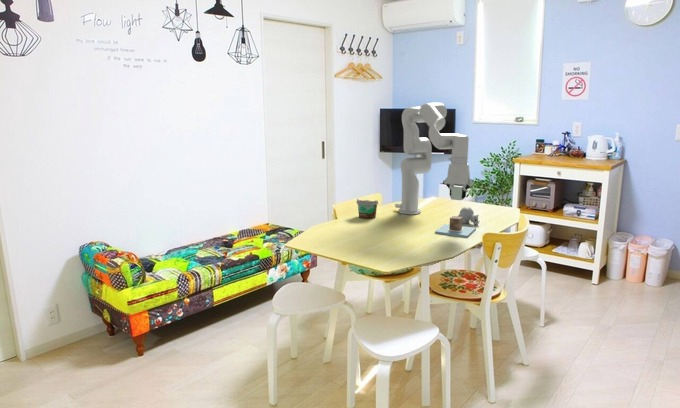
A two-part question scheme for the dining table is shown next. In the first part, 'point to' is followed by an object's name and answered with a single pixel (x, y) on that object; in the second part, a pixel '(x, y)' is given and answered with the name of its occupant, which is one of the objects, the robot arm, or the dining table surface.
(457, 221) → the walnut block
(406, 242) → the dining table surface
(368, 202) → the food container
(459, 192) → the sage block
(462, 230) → the build board
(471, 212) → the chubby cartoon animal
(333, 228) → the dining table surface
